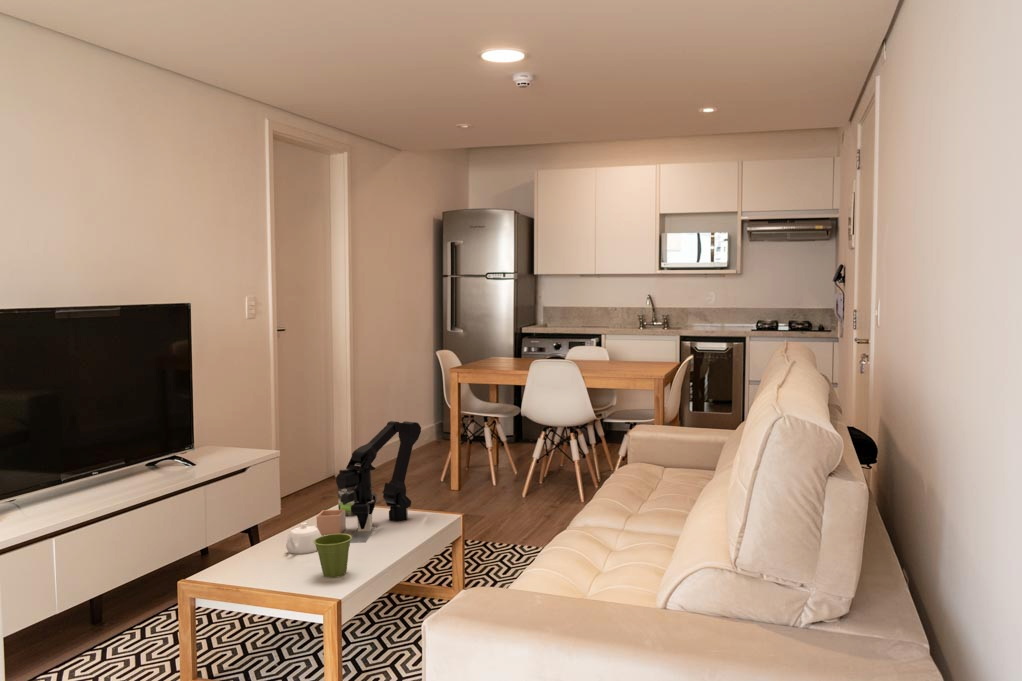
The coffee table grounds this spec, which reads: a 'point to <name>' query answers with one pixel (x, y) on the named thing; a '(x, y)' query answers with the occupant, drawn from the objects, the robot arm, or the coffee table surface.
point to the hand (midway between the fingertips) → (365, 525)
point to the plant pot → (333, 553)
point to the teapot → (302, 539)
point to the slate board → (361, 536)
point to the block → (368, 524)
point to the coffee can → (348, 505)
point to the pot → (331, 522)
